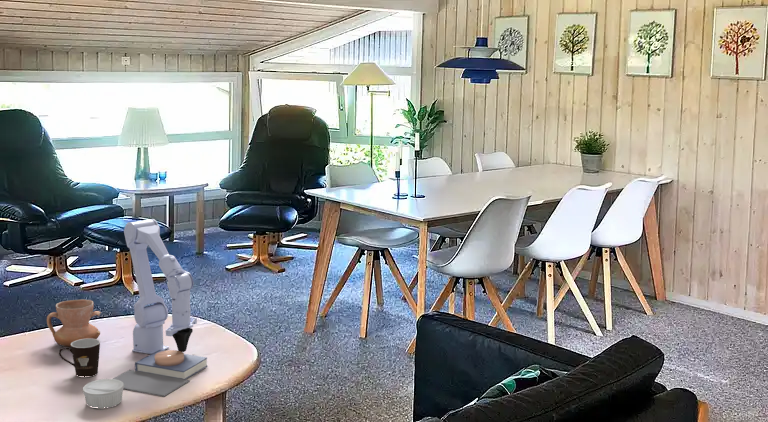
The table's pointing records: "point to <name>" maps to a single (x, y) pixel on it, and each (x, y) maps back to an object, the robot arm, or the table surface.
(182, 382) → the placemat
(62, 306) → the ceramic jug
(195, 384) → the table surface
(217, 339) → the table surface
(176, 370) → the book
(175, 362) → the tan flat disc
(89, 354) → the coffee mug
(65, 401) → the table surface
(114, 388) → the ramekin
